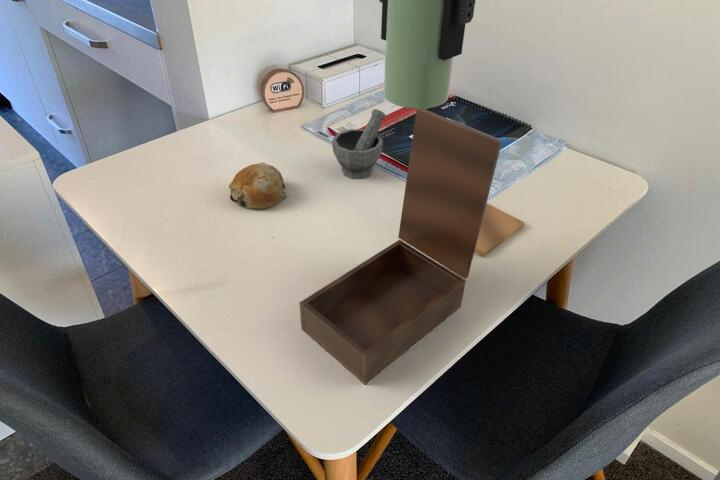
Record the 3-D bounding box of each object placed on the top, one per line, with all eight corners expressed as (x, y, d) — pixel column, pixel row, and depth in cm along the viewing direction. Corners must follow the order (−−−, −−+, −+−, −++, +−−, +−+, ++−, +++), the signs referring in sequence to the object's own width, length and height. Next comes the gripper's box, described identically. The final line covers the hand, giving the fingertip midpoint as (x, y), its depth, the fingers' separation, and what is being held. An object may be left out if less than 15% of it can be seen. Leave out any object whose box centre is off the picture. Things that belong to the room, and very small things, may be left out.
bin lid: (498, 142, 60) (521, 132, 63) (416, 108, 67) (441, 100, 70) (464, 279, 72) (485, 265, 75) (397, 237, 79) (419, 226, 82)
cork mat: (483, 257, 85) (484, 252, 84) (426, 224, 91) (427, 220, 91) (523, 226, 91) (524, 222, 91) (468, 198, 98) (468, 193, 97)
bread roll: (282, 224, 97) (297, 188, 93) (227, 212, 92) (242, 175, 88) (273, 195, 104) (288, 161, 101) (223, 183, 99) (236, 147, 96)
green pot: (420, 117, 52) (434, -40, 43) (365, 94, 57) (368, -54, 48) (466, 95, 57) (488, -52, 48) (412, 75, 61) (423, -63, 52)
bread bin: (364, 385, 65) (365, 358, 62) (301, 329, 72) (299, 302, 69) (461, 307, 76) (466, 280, 73) (397, 265, 83) (399, 239, 80)
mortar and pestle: (350, 189, 100) (350, 132, 92) (324, 168, 106) (322, 113, 98) (396, 171, 105) (399, 116, 98) (368, 152, 111) (370, 99, 103)
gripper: (596, -271, 36) (525, 63, 50) (383, -253, 46) (375, 17, 61) (538, -284, 31) (479, 84, 46) (320, -260, 42) (327, 31, 57)
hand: (420, 45), depth 53 cm, fingers closed on green pot, 7 cm apart
